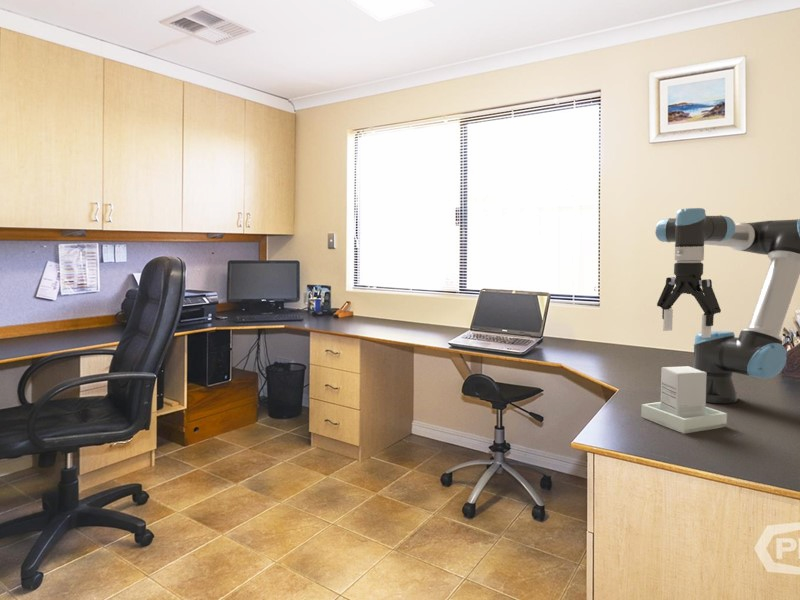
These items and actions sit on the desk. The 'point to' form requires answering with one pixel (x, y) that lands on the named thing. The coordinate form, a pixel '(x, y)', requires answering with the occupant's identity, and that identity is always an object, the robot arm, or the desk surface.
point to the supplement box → (683, 391)
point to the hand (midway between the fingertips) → (686, 333)
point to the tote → (684, 419)
